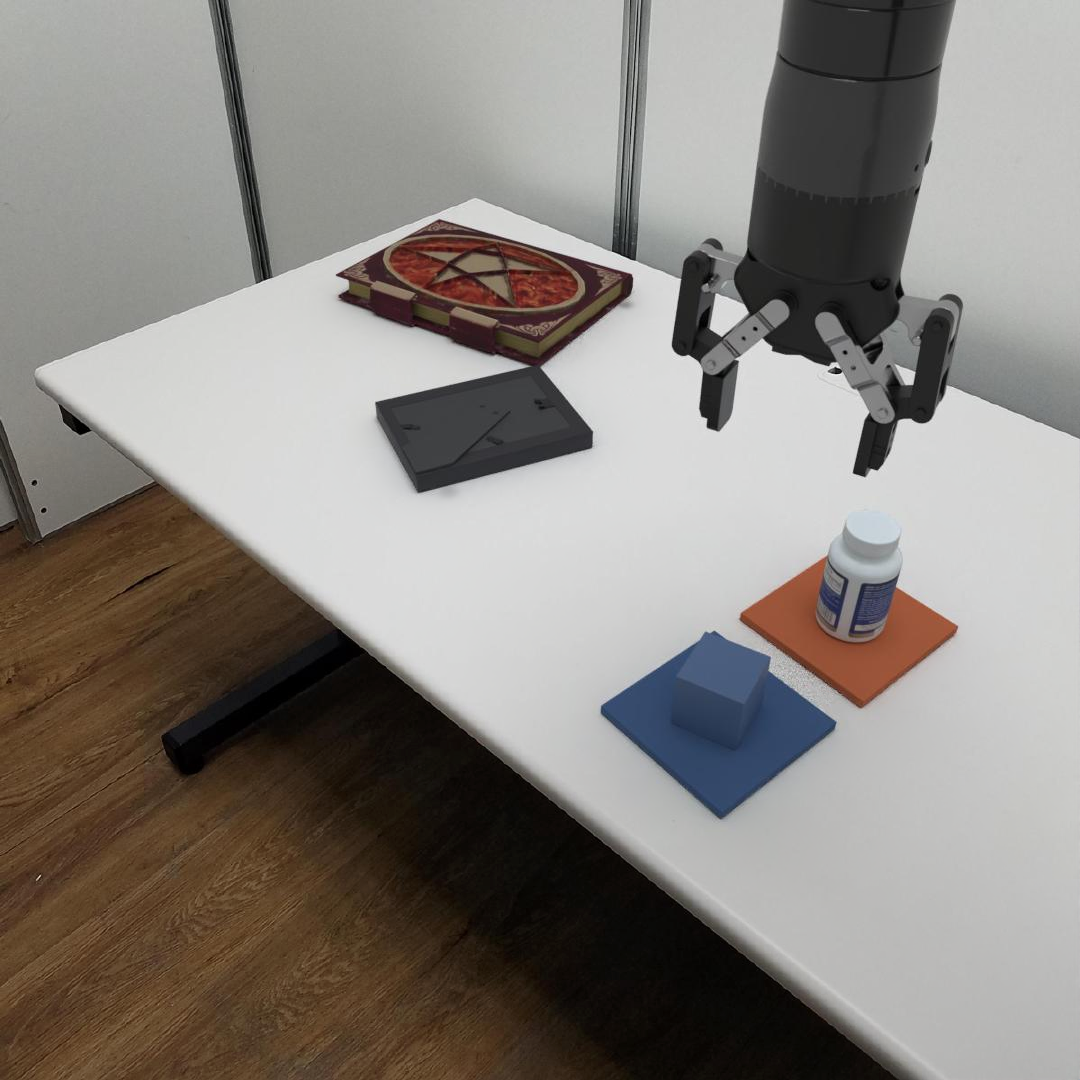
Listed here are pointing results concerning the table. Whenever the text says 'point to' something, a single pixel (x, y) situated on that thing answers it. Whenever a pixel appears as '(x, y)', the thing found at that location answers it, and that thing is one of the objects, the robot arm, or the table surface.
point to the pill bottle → (860, 577)
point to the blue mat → (704, 763)
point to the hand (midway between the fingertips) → (789, 445)
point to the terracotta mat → (840, 662)
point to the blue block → (720, 690)
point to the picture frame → (481, 427)
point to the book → (486, 290)
